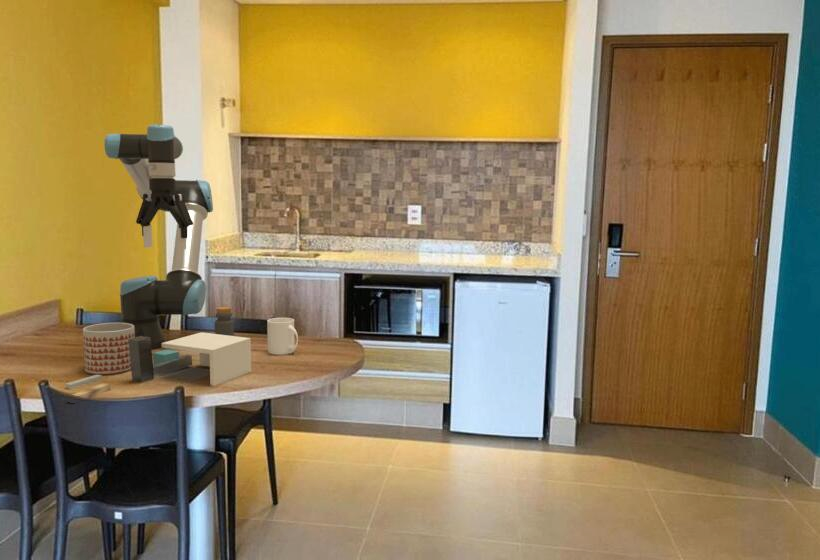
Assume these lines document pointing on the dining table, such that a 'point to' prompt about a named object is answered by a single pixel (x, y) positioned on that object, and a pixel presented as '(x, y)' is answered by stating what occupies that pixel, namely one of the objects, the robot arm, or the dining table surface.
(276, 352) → the mug
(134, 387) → the dining table surface
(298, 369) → the dining table surface
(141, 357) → the dark grey l-shaped block
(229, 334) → the bottle
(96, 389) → the oak batten
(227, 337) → the cubby
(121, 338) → the planter
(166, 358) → the block
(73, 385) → the grey stick
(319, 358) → the dining table surface
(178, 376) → the mat
